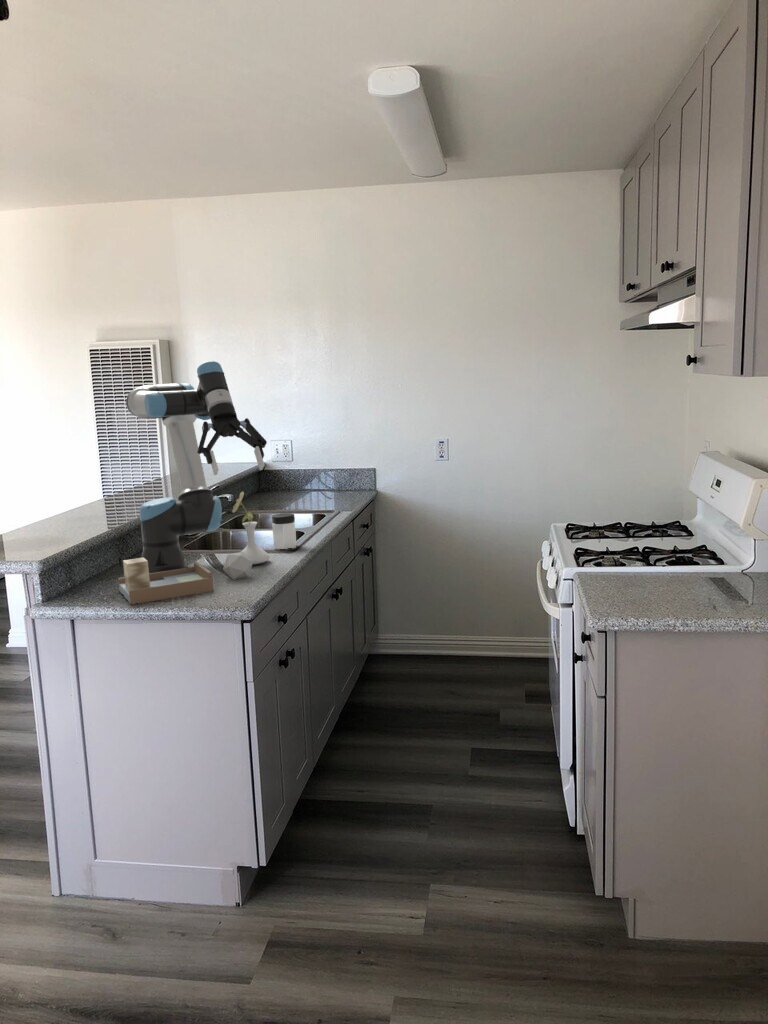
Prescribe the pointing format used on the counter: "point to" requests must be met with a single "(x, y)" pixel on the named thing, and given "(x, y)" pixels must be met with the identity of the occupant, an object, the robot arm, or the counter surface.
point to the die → (237, 565)
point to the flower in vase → (251, 537)
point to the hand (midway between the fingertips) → (239, 470)
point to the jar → (284, 531)
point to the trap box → (171, 584)
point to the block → (136, 573)
